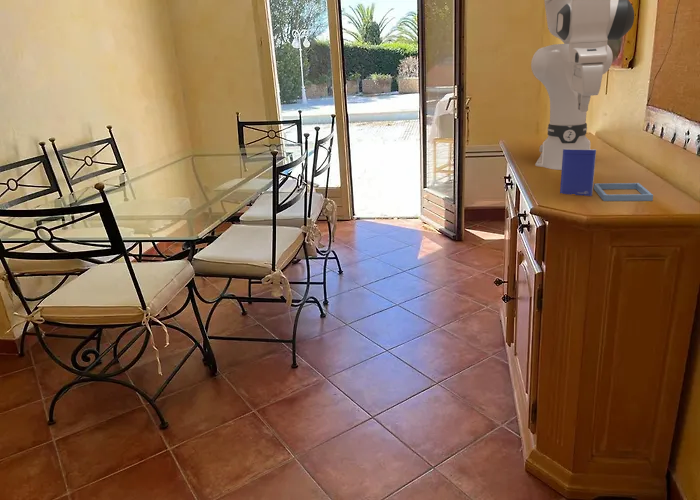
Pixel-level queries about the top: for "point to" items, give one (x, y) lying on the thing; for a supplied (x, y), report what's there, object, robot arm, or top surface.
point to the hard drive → (578, 171)
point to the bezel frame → (643, 196)
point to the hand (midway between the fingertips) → (582, 110)
